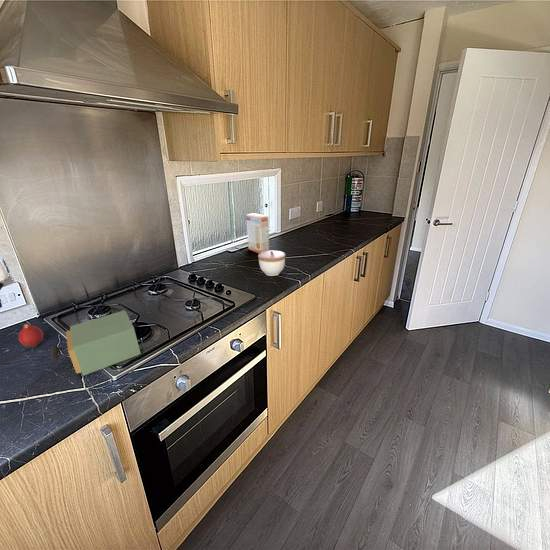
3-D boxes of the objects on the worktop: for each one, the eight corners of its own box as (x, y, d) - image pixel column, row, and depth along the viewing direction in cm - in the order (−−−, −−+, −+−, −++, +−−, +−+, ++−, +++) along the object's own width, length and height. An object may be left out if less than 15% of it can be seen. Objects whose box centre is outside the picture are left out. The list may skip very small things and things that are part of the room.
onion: (29, 342, 93) (19, 320, 89) (50, 339, 94) (41, 317, 91) (19, 353, 87) (9, 331, 84) (41, 350, 89) (32, 327, 86)
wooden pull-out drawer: (57, 381, 75) (47, 358, 72) (56, 358, 83) (47, 336, 81) (131, 353, 84) (125, 332, 81) (123, 335, 93) (118, 315, 90)
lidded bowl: (276, 280, 131) (275, 257, 126) (253, 274, 137) (252, 252, 133) (290, 270, 140) (290, 248, 136) (268, 266, 147) (267, 245, 142)
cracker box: (270, 253, 165) (268, 216, 157) (261, 255, 162) (259, 217, 154) (256, 247, 176) (254, 212, 167) (248, 249, 172) (245, 213, 164)
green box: (83, 376, 78) (72, 348, 74) (79, 352, 87) (69, 326, 84) (140, 354, 85) (134, 327, 82) (131, 334, 95) (125, 310, 91)
